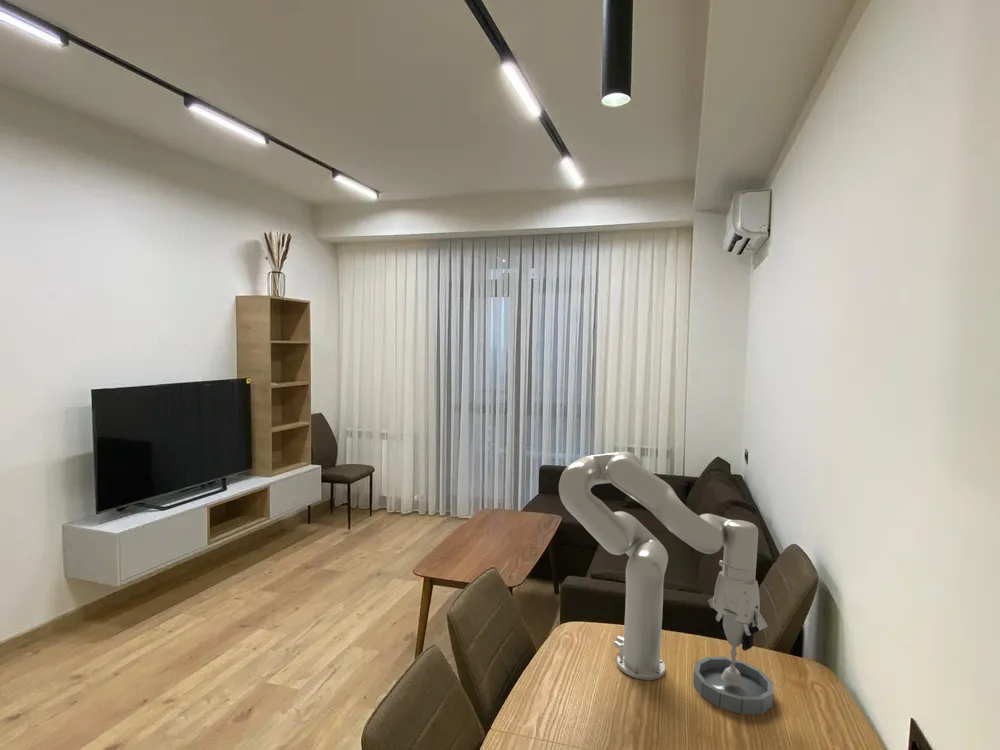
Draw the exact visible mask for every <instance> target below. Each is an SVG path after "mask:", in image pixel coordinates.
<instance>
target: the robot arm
mask: <svg viewBox="0 0 1000 750" xmlns="http://www.w3.org/2000/svg"><path fill="white" fill-rule="evenodd" d="M604 484H611V485H613V486H614V487H615V488H617V489H618V490H620V491H621V492H622V493H624V494H625V495H627V496H629V497H630V498H631V499H633V500H634V501H635V502H637V503H639V504H640V505H641V506H643V507H644V508H646V510H648V511H650V512H651V514H653V516H655V518H656V519H657V520H658V521H660V522H661V524H662V525H664V527H665V528H667V530H669V532H670V533H672V534H673V535H675V536H676V537H677V538H678V539H680V540H681V541H683V542H684V543H686V544H687V545H688V546H690V547H691V548H693V549H695V550H696V551H698V552H700V553H703V554H708V555H711V554H715V553H717V552H719V551H720V550H721V549H722V547H723V558H722V559H723V560H722V559H720V560H719V562H718V564H719V566H721V568H722V569H721V571H719V572H718V575H717V579H716V582H715V585H714V592H713V593H714V594H713V596H712V597H710V598H709V599H708V600H707V603H708V605H709V607H710V608H711V611H712V613H713V614H714V616H715V620H716V622H717V625H716V631H717V638H719V639H721V638H724V637H726V635H725V632H724V628H723V615H726V616H727V614H726V612H725V611H724V609H725V610H726V611H728V612H730V613H732V614H735V615H738V616H737V617H735V618H734V619H735V620H736V621H738V622H740V623H742V624H743V626H744V629H745V633H744V634H743V641H742V643H741V649H742V650H743V651H744V652H746V651H747V650H750V649H752V647H753V645H754V636H755V635H754V634H756V633H758V632H760V631H761V630H763V629H765V628H768V623H767V622H766V621H765V618H764V617H763V616H762V614H761V612H760V611H761V610H760V606H761V605H760V603H761V602H760V601H761V600H760V599H761V598H760V588H759V584H758V583H759V582H758V580H757V579H756V573H757V571H756V570H757V561H758V560H757V559H758V543H759V529H758V526H757V525H756V524H754V523H752V522H750V521H746V520H742V519H730V518H726V517H723V516H720V515H716V514H712V513H702V514H700V515H698V514H697V513H695V512H694V511H692V510H691V509H690V508H689V507H688V506H686V505H685V503H683V502H682V500H680V498H679V497H678V495H677V494H676V492H675V491H674V489H673V487H671V485H670V484H669V483H668V482H666V481H664V480H663V479H661V478H660V477H659V476H657V475H655V474H654V473H652V472H651V471H650V470H648V469H646V468H645V467H644V466H642V463H641V460H640V458H639V457H638V455H636V454H634V453H632V452H631V451H619V452H618V451H617V452H611V453H603V454H593V455H586V456H582V457H580V458H578V459H577V460H575V461H572V462H571V463H570V464H569V465H568V466H566V467H565V469H564V470H563V471H562V473H561V475H560V479H559V482H558V493H559V498H560V501H561V502H562V504H563V506H564V507H565V509H566V510H567V512H569V513H570V515H572V516H573V517H574V518H575V519H576V520H577V522H579V523H580V525H582V526H583V528H584V529H585V530H586V531H587V532H588V533H589V534H590V535H591V537H593V538H594V539H595V540H596V541H597V542H598V543H599V544H600V545H601V547H602V548H603V549H604V550H605V551H607V552H608V553H609V554H612V555H613V556H614V555H615V556H621V555H623V554H626V555H627V556H628V557H629V558H628V561H627V563H626V567H625V605H624V606H625V609H624V610H625V611H624V627H623V628H624V630H623V631H624V632H623V636H621V635H618V636H617V637H616V639H615V640H616V641H614V642H613V646H614V647H616V648H617V649H619V654H618V655H617V657H616V666H617V667H618V668H619V670H620V671H621V672H623V673H624V674H625V675H628V676H630V677H632V678H634V679H639V680H644V681H645V680H646V681H651V680H652V681H653V680H657V679H660V678H662V677H663V676H664V675H665V674H666V664H665V662H664V661H663V660H662V658H661V644H662V625H663V624H662V623H663V606H664V582H665V575H666V574H665V573H666V571H667V566H668V562H669V554H668V551H667V550H666V547H665V546H664V545H663V544H662V542H661V541H660V540H658V538H657V537H656V536H655V535H653V533H651V531H649V530H648V528H647V527H645V526H644V525H643V524H642V522H640V521H639V520H638V519H637V518H636V517H635V516H633V514H630V513H628V512H626V511H621V510H619V511H612V510H611V509H610V508H609V507H608V506H607V505H606V504H605V502H603V500H601V499H600V498H598V497H597V496H595V495H594V494H593V493H592V491H591V489H592V488H593V487H594V486H595V485H604ZM755 622H757V624H755Z"/></svg>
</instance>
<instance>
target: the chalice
mask: <svg viewBox="0 0 1000 750" xmlns="http://www.w3.org/2000/svg"><path fill="white" fill-rule="evenodd" d="M724 611H725V612H726V614H727V616H726V615H723V628H724V632H725V635H726V636H725V637H726V640H727V643H728V644H729V645H730V646H731V650H730V657H729V658H730V659H729V660H730V661H731V666H730V667H727V668H726V669H725V670H724V672H723V674H722V675H721V678H722V680H724V681H725V682H726V683H729V684H731V685H741V684H742V683H743V681H742V679H741V675H740V672H739V671H738V670H737V669H736V668H735V663H736V662H737V660H738V659H737V658H736V656H737V655H738V653H737V650H736V649H737V647H740V646H742V641H743V634H744V633H745V629H744V626H743V624H742V623H740V622H738V621H736V620H735V619H734V618H735V617H737V616H738V615H735V614H732V613H730V612H728V611H726V610H725V609H724Z"/></svg>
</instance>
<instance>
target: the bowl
mask: <svg viewBox="0 0 1000 750" xmlns="http://www.w3.org/2000/svg"><path fill="white" fill-rule="evenodd" d="M730 658H731V657H727V656H706V657H704V658H702V659H699V660H697V661H696V662H695V665H694V669H693V670H694V671H693V682H692V683H693V684H692V685H693V687H694V688H695V689H696V691H697V693H698V694H699V693H700V694H699V695H700V697H702V698H703V699H704V698H705V699H704V700H706V699H707V700H706V701H707V702H709V701H710V702H709V703H711V702H712V703H713V705H714V704H715V705H714V706H715V707H717V706H718V708H719V709H722V708H723V709H722V710H725V709H726V711H728V710H729V712H732V711H733V713H735V712H737V713H736V714H739V713H740V714H739V715H762V714H761V713H763V712H764V713H766V712H767V711H769V710H771V709H773V705H774V704H773V703H774V681H772V680H771V679H770V678H769V677H768V675H767V674H766V673H765V672H763V671H762V670H760V669H759V668H756V667H755V666H754V665H751V664H749V663H747V662H745V661H743V660H739V659H736V660H737V662H736V663H735V668H736V669H737V670H738V671H739V672H740V675H741V679H742V681H743V683H742V684H741V685H731V684H729V683H726V682H725V681H724V680H722V678H721V675H722V674H723V672H724V670H725V669H726V668H727V667H730V666H731V661H730V660H729V659H730ZM712 703H711V704H712ZM770 708H771V709H770ZM765 711H766V712H765ZM741 713H742V714H741ZM764 713H763V714H764Z"/></svg>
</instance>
